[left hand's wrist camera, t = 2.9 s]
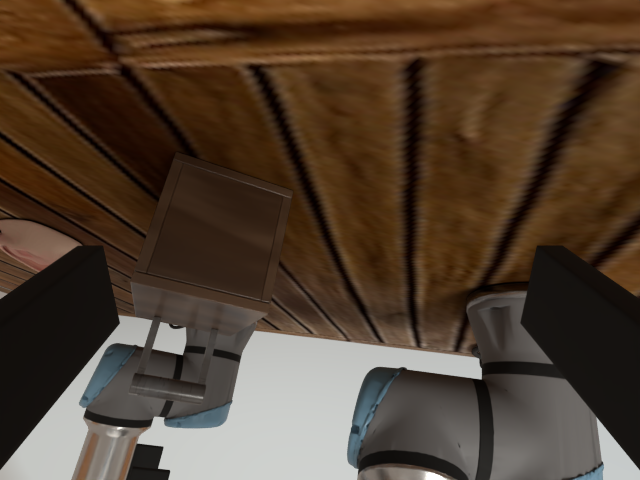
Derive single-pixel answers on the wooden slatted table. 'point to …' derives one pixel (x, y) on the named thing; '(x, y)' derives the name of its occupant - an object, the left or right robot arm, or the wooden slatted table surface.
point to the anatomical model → (33, 243)
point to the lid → (192, 312)
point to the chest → (217, 230)
